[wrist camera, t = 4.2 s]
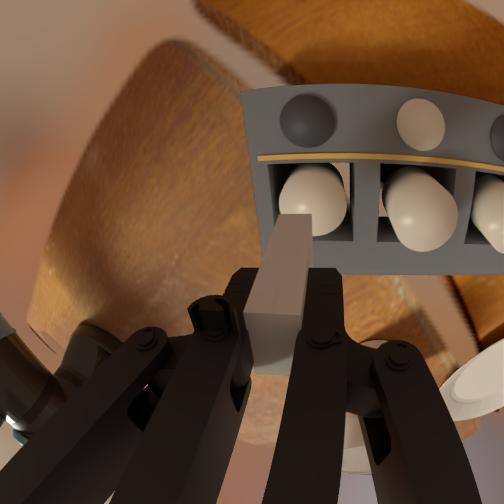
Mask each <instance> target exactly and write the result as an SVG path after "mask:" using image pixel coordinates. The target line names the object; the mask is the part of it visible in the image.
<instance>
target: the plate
mask: <svg viewBox="0 0 504 504" xmlns="http://www.w3.org/2000/svg"><path fill="white" fill-rule="evenodd" d="M439 390H440V393H441V395H442V397H443V399H444V401H445V403H446V406H447V408H448V410H449V412H450V415H451V417H452V419H453V421H459V420H467V419H472V418H476V417H479V416H482V415H485V414H488V413H490V412H492V411H494V410H496V409H498V408H500V407H502V406H504V338H503V339H501V340H500V341H498V342H496V343H494V344H492V345H491V346H489V347H488V348H486V349H485V350H483V351H482V352H480V353H479V354H477V355H476V356H474V357H473V358H472V359H470V360H469V361H468V362H467V363H465V364H464V365H463V366H462V367H460V368H459V369H458V370H457V371H456V372H455V373H454V374H453V375H452V376H451V377H450V378H449V379H448V380H447V381H446V382H445V383H444V384H443V385H442V387H441V388H440V389H439Z"/></svg>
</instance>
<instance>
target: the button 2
mask: <svg viewBox="0 0 504 504" xmlns="http://www.w3.org/2000/svg"><path fill="white" fill-rule="evenodd" d="M382 202H383V205H384V208H385V210H386V212H387V214H388V217H389V219H390V221H391V224H392V226H393V228H394V230H395V233H396V235H397V237H398V239H399V240H400V242H401V243H402V244H403V245H404V246H406V247H407V248H409V249H411V250H414V251H419V252H427V251H431V250H434V249H437V248H439V247H440V246H442V245H443V244H444V243H445V242H447V241H448V239H449V238H450V237H451V235H452V234H453V232H454V230H455V228H456V225H457V220H458V210H457V205H456V202H455V200H454V198H453V197H452V195H451V194H450V193H449V192H448V191H447V190H446V189H445V188H444V187H443V186H442V185H440V184H439V183H438V182H437V181H436V180H435V179H434V178H433V177H432V176H430V175H429V174H428V173H427V172H426V171H424V170H423V169H421V168H418V167H413V166H407V167H402V168H400V169H397V170H396V171H394V172H393V173H392V174H391V175H390V176H389V177H388V178H387V180H386V182H385V184H384V186H383V190H382Z"/></svg>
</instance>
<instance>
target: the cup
mask: <svg viewBox="0 0 504 504" xmlns="http://www.w3.org/2000/svg"><path fill="white" fill-rule="evenodd" d="M385 342H388V341H386V340H372V341H367V342H364V343H361V344H362V345H364V346H368V347H372V348H376V349H377V348H378V347H379V346H380V345H381V344H383V343H385ZM342 470H343V471H353V472H367V471H371V468H370V464H369V460H368V455H367V451H366V447H365V443H364V439H363V435H362V431H361V427H360V423H359V419H358V416H357V415H355V414H352V413H349V412H346V420H345V436H344V449H343V460H342Z"/></svg>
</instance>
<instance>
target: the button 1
mask: <svg viewBox="0 0 504 504" xmlns="http://www.w3.org/2000/svg"><path fill="white" fill-rule="evenodd" d="M279 209H280V213H281V214H312V236H321V235H325V234H328V233H330V232H332V231H333V230H335V229H336V228H337V227H338V226H339V225H340V224H341V222H342V221H343V219H344V217H345V214H346V209H347V202H346V196H345V190H344V184H343V180H342V177H341V175H340V173H339V171H338V170H337V169H336V168H335V167H334V166H333V165H332V164H330V163H329V162H326V163H299V164H297V165H296V166H295V167H294V168H293V169H292V171H291V172H290V174H289V176H288V178H287V181H286V183H285V185H284V187H283V189H282V191H281V194H280V198H279Z"/></svg>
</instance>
